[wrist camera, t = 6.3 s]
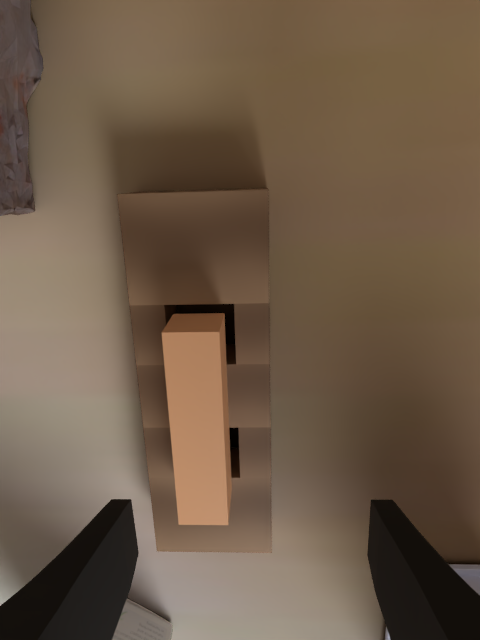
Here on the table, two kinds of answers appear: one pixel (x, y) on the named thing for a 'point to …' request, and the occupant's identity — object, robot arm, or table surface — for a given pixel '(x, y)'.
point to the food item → (16, 103)
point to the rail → (242, 357)
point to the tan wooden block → (199, 416)
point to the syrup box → (141, 624)
